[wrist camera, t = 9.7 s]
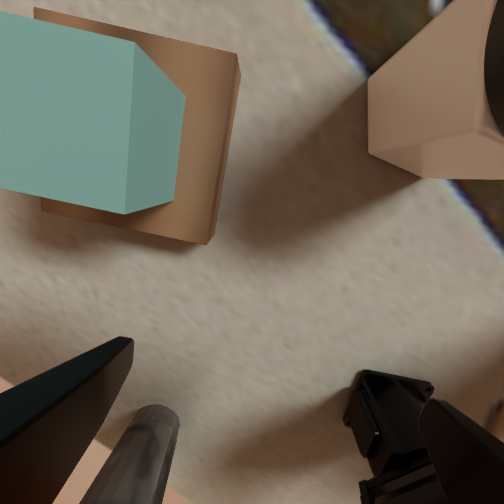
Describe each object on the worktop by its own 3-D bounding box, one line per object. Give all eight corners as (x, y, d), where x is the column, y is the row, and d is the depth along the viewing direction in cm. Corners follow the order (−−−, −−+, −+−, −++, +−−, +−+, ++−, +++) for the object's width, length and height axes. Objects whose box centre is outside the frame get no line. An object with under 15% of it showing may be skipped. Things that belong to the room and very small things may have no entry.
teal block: (185, 95, 14) (135, 42, 9) (173, 200, 16) (124, 214, 10) (80, 72, 14) (-43, 0, 8) (79, 180, 16) (-23, 183, 10)
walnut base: (241, 75, 16) (236, 53, 14) (214, 235, 20) (205, 245, 17) (73, 36, 16) (33, 6, 13) (74, 205, 19) (41, 210, 17)
